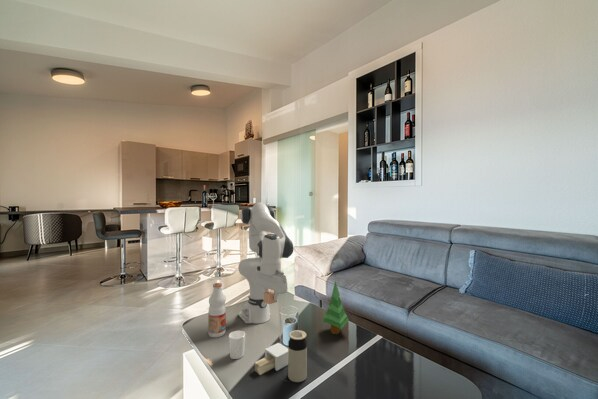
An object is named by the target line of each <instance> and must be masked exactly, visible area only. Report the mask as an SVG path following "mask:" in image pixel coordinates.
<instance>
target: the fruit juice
mask: <svg viewBox="0 0 598 399" xmlns="http://www.w3.org/2000/svg"><path fill="white" fill-rule="evenodd" d="M222 286H223V283H221V282H215V283H213V284H212V287H213V291H212V293H211V295H210V297H209V299H208V303H209V307H208V320H207V322H208V327H207V329H208V330H207V331H208V332H207V333H208V336H209V337H210V338H220V337H222V336H224V335H225V334H226V329H227V328H226V327H227V325H226V320H227V317H226V316H227V313H226V312H227V307H226V300H227V298H226V295H225V294H224V293H223V291H222Z"/></svg>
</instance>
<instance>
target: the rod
mask: <svg viewBox="0 0 598 399" xmlns="http://www.w3.org/2000/svg"><path fill="white" fill-rule="evenodd" d="M285 347H286V348H288V347H287V346H285ZM272 369H275V357H273V356H272V355H269V356H267V357H265V356H264V357H263V358H261V359H259V360H257V361H255V362H254V372H256V374H258V375H259V376H262V375H263V374H265V373H267V372H269V371H271V370H272Z"/></svg>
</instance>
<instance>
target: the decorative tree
mask: <svg viewBox="0 0 598 399" xmlns="http://www.w3.org/2000/svg"><path fill="white" fill-rule="evenodd" d="M332 288H333V289H332V292H331V298H330V300H329V304H328V307H327V309H326V312H325V315H324V317H323V319H322V320H321V322H323V323H326V324H328V325H330V332H331V334H332V333H335V334H334V335H338V334H340V333H339V332H341V331H340V329H341V330H342V329H343V328H344V326H346V324H347V323H348V322H349V321H350V319H349V318H348V315H347V314H346V311H345V309H344V306H343V304H342V300H341V295H340V292H339V287H338V285H337V281H336V279H335V280H334V285H333V287H332ZM337 333H338V334H337Z"/></svg>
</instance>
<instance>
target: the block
mask: <svg viewBox="0 0 598 399" xmlns="http://www.w3.org/2000/svg"><path fill="white" fill-rule="evenodd" d="M274 294H275V293H274V291H273V290H270V289H269V291H266V292H264V302H265V303H267V304H269V305H271V304H274V303H278V299H277V300H273V296H274Z"/></svg>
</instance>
